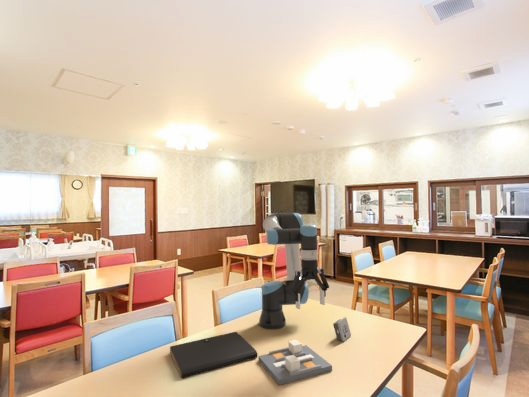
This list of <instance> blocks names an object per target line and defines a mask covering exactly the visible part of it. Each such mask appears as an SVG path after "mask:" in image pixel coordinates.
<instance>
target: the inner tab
mask: <svg viewBox="0 0 529 397" xmlns="http://www.w3.org/2000/svg"><path fill="white" fill-rule="evenodd" d="M302 346H303V344H302V343H301V342H300V341H299V340H297V339H292V340H289V341H288V347H289V351H290V352H291V353H292V354H297V353H301V352H302Z"/></svg>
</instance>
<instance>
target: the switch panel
mask: <svg viewBox="0 0 529 397" xmlns="http://www.w3.org/2000/svg"><path fill="white" fill-rule="evenodd" d="M291 355H294V356H295V357H297V358H298V359H299V360H300V370H298V371H294V372H289V371H288V370H287V369H286V367H285V357H287V356H291ZM257 358H258V362H259V363H260V365H261V366H262V367H263V368H264V369H265V370H266V372H267V373H268V374H269V375H270V376H271V377H272V379H273V380H274V381H275V382H276V384H277V385H278V386H281V385H284V384H285V385H286V384H289V383H292V382H295V381H299V380H304V379H307V378H311V377H313V376H316V375H321V374H324V373H329V372H332V371H333V365H332V364H331V363H329V362H328V361H327V360H326V359H325V358H324V357H322V356H321V355H319V354H318V353H317V352H315V351H314V349H312V348H310V346H308V345H307V344H305V345H302V352H301V353H297V354H292V353H291V352H290V351H289V346H288V347H284V348H279V349H274V350H271V351H269V352H268V353H265V354H261V355H257Z"/></svg>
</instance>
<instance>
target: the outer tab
mask: <svg viewBox="0 0 529 397" xmlns="http://www.w3.org/2000/svg"><path fill="white" fill-rule="evenodd" d="M285 367H286V369H287V370H288V371H289V372H294V371H298V370H300V360H299V359H298V358H297V357H295V356H294V355H291V356H287V357H285Z"/></svg>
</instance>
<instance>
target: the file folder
mask: <svg viewBox="0 0 529 397" xmlns="http://www.w3.org/2000/svg"><path fill="white" fill-rule="evenodd" d="M170 354H171V355H170ZM169 355H170V357H171V356H172V357H171V359H172V361H173V363H174V365H175V367H176V370H177V369H178V370H177V372H178V374H179V376H180V378H181V379H185V378H189V377H193V376H196V375H199V374H204V373H206V372H210V371H214V370H217V369H221V368H226V367H229V366H232V365H235V364H238V363H243V362H246V361H249V360H252V359H253V360H254V359H257V358H258V352H257V350H256V348H254V346H252V345H251V343H249V342H248V341H247V340H246V339H245V338H244V336H242V335H241V334H239V333H238V332H237V331H233V332H229V333H225V334H224V333H223V334H220V335H216V336H211V337H207V338H201V339H198V340H193V341H189V342H184V343H180V344H179V343H178V344H175V345H171V346H169Z"/></svg>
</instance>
